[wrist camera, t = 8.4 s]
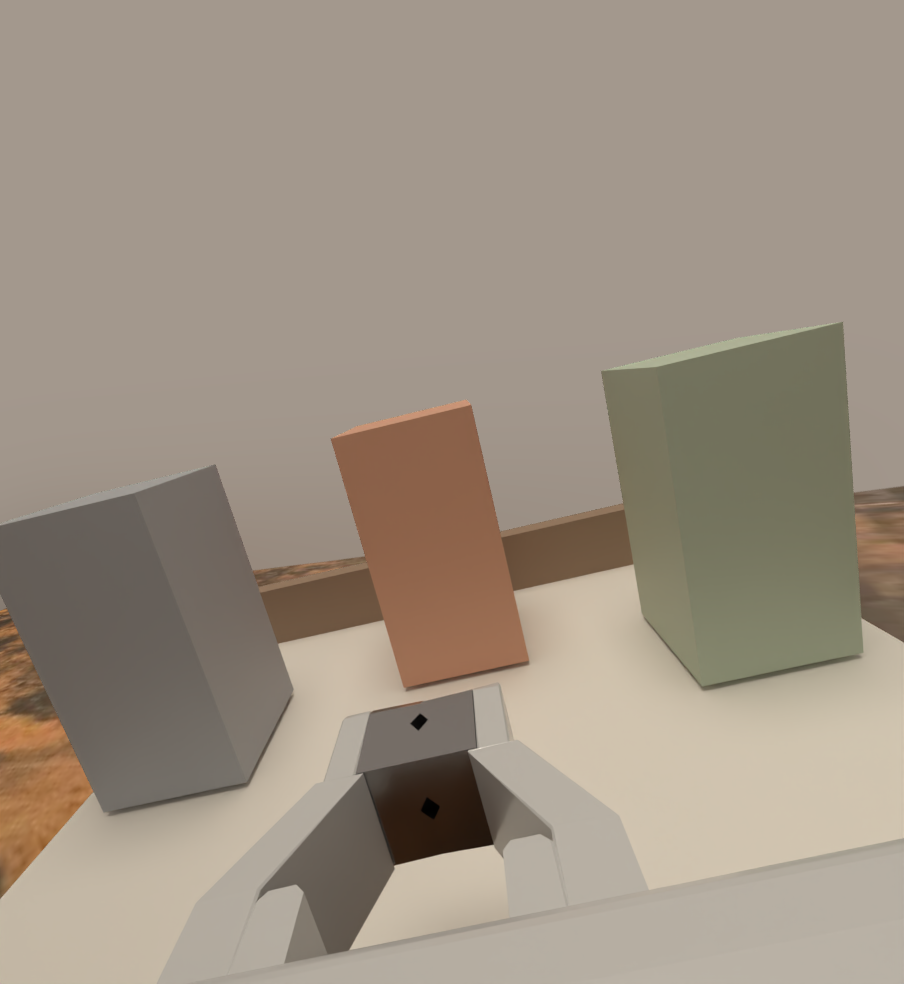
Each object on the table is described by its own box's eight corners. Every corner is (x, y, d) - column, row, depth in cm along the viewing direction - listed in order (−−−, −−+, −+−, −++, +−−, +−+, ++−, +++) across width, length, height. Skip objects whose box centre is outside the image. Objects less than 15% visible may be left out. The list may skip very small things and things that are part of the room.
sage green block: (702, 686, 15) (656, 367, 13) (641, 613, 20) (601, 370, 18) (863, 652, 15) (842, 321, 13) (763, 587, 20) (736, 337, 18)
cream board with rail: (-149, 1142, 10) (-255, 996, 10) (234, 655, 29) (210, 590, 28) (1237, 889, 9) (1263, 694, 8) (709, 549, 28) (700, 477, 27)
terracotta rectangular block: (403, 687, 19) (330, 438, 17) (412, 626, 24) (357, 426, 22) (529, 660, 19) (471, 404, 17) (513, 603, 24) (466, 399, 22)
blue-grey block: (103, 812, 16) (-29, 532, 14) (182, 713, 21) (93, 494, 19) (246, 782, 16) (134, 493, 14) (293, 689, 21) (215, 464, 19)
